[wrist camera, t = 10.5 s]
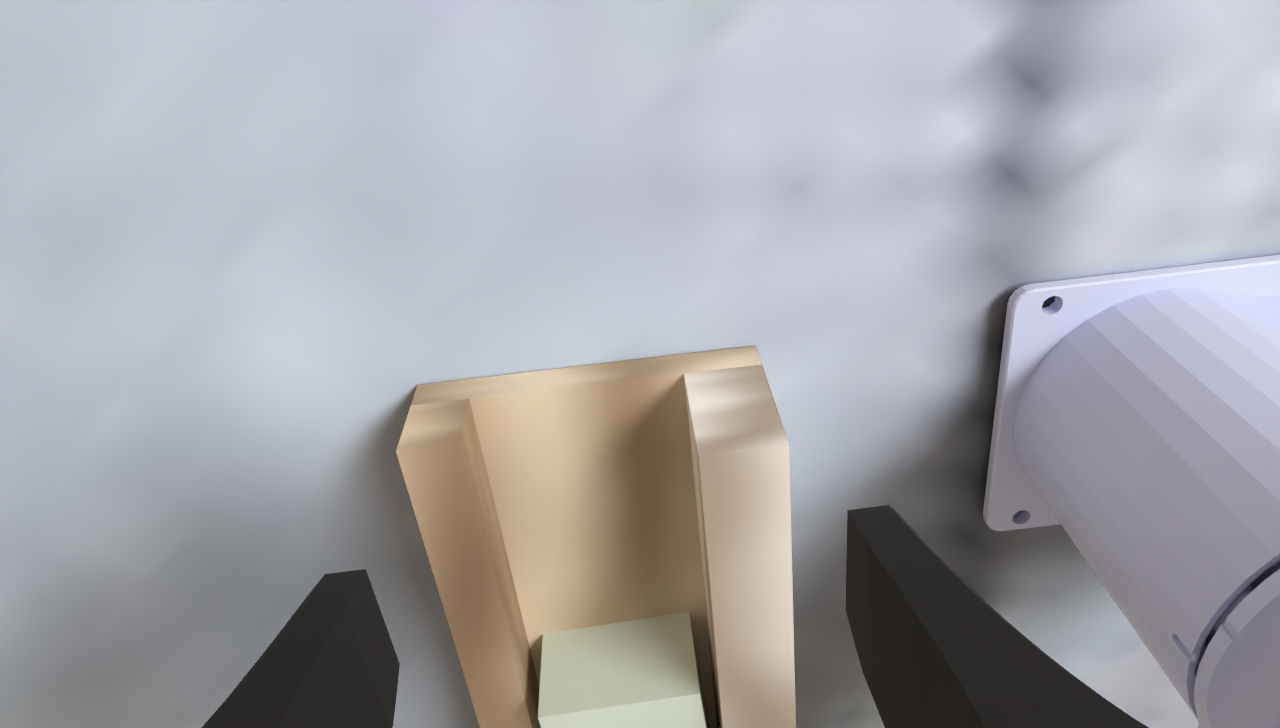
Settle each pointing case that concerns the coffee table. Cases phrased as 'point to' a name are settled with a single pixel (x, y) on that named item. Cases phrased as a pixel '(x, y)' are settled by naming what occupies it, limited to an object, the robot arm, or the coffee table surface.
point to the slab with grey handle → (623, 676)
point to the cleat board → (610, 521)
